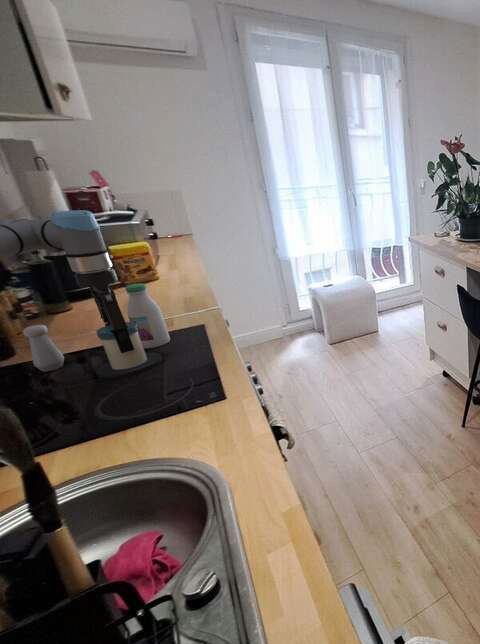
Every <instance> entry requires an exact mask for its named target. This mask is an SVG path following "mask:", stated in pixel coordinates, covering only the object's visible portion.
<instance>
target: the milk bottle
mask: <svg viewBox="0 0 480 644" xmlns="http://www.w3.org/2000/svg"><path fill="white" fill-rule="evenodd" d="M124 290H125V292H126V294H127V295H128V303H127V307H126V311H127V317H128V320H129V322H135V323H136V324H137V326H138V333H139V336H140V339H141V342H142V345H143V348H144V349H154V348H158V347H162V346H164V345H167V344H168V343H170V341H171V337H170V334H169V331H168V327H167V324H166V322H165V319H164V315H163V313H162V311H161V308H160V306H159V304H158V303H157V302H156V301H155V300H154V299H153V298H152V297H151V296H150V295H149V294H148V289H147V286H146V283H133V284H129V285H126V286H125V287H124Z"/></svg>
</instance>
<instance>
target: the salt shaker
mask: <svg viewBox="0 0 480 644" xmlns="http://www.w3.org/2000/svg"><path fill="white" fill-rule="evenodd" d="M48 332H49V331H48V327H47V326H46V325H44V324H36V325H31V326H27V327H25V328H24V329H23V330H22V333H23V335H24V336H25V337H26V338H28V339H29V345H30V351H31V358H32V363H33V366H34V367H35V368H37V369H38V370H39V371H41V372H51V371H56V370H59V369H60V368H62V367H64V364H65V363H64V362H65V356H64V354H62V352H61V351H60V349H58V347H57V346H56V344H54V343H53V341H52V339H51V338H49V336H48V335H47V334H48Z"/></svg>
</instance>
